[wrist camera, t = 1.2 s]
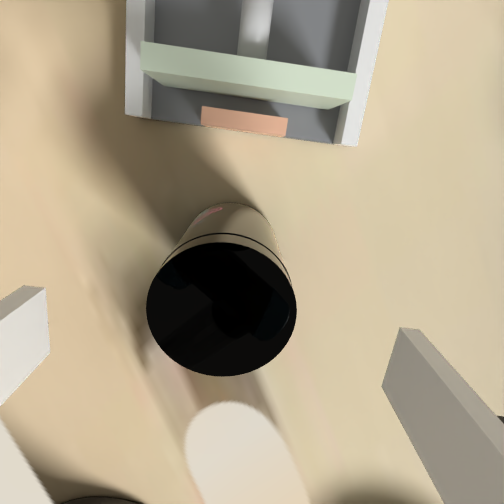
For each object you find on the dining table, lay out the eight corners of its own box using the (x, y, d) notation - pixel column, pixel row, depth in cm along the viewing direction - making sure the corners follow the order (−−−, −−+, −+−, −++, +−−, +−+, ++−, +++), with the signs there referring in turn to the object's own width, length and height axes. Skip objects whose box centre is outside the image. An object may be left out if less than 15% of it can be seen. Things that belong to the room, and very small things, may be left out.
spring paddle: (328, 109, 21) (351, 100, 17) (164, 86, 21) (140, 69, 16) (345, 15, 20) (377, -25, 15) (168, -14, 19) (143, -65, 14)
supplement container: (235, 180, 23) (228, 208, 13) (295, 250, 25) (327, 321, 15) (166, 240, 25) (113, 306, 15) (227, 303, 26) (216, 400, 16)
